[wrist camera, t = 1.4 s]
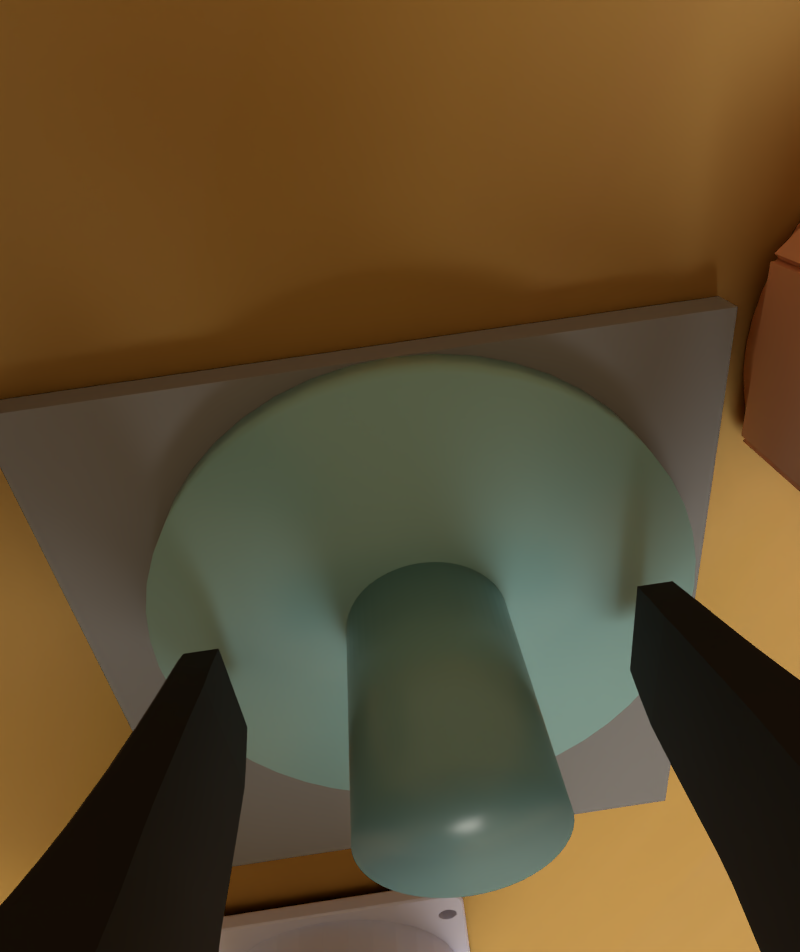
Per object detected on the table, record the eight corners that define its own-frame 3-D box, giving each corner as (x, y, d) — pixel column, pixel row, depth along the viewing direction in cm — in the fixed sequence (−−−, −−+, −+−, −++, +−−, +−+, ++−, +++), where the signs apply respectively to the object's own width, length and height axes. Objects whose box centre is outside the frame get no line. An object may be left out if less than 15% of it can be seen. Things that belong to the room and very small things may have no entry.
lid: (654, 726, 16) (768, 957, 12) (232, 790, 16) (195, 1046, 11) (705, 310, 10) (945, 461, 6) (72, 402, 10) (-100, 615, 6)
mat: (655, 779, 18) (665, 800, 17) (206, 847, 18) (202, 871, 17) (718, 296, 11) (737, 306, 10) (-8, 400, 11) (-26, 417, 10)
